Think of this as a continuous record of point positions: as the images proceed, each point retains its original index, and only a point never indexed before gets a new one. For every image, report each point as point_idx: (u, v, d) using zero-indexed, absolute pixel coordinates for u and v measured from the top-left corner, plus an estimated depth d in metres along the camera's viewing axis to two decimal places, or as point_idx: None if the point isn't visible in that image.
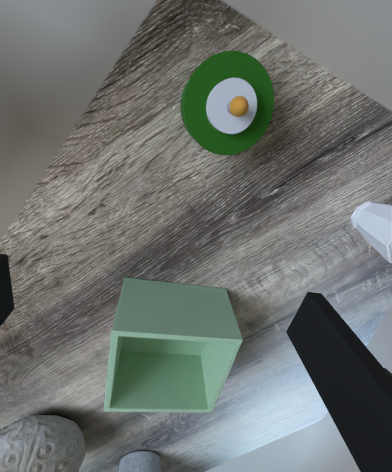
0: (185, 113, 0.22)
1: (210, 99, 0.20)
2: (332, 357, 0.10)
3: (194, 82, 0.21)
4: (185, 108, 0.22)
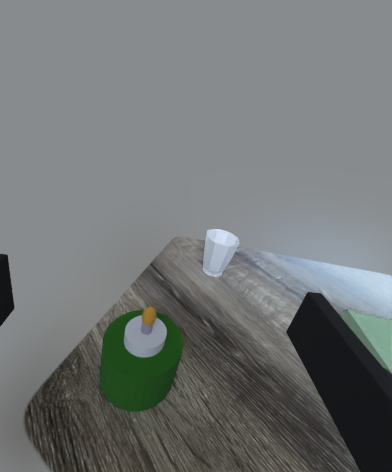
0: (148, 375, 0.22)
1: (139, 346, 0.23)
2: (332, 357, 0.10)
3: (122, 367, 0.22)
4: (143, 375, 0.22)
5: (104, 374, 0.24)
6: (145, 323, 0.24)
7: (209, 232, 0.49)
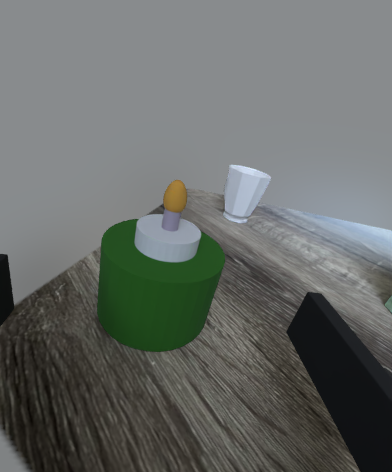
0: (178, 282, 0.13)
1: (162, 240, 0.14)
2: (332, 357, 0.10)
3: (134, 269, 0.13)
4: (171, 281, 0.13)
5: (104, 291, 0.15)
6: (170, 207, 0.15)
7: (232, 168, 0.40)
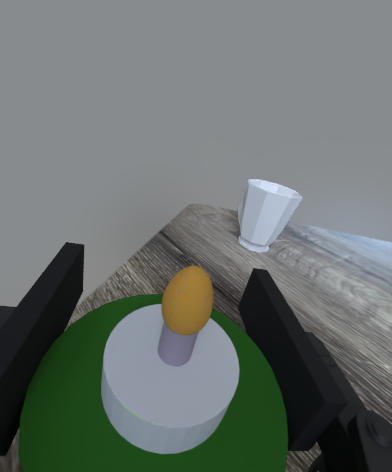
0: None
1: (157, 420, 0.06)
2: (265, 323, 0.10)
3: None
4: None
5: None
6: (177, 328, 0.06)
7: (250, 183, 0.31)
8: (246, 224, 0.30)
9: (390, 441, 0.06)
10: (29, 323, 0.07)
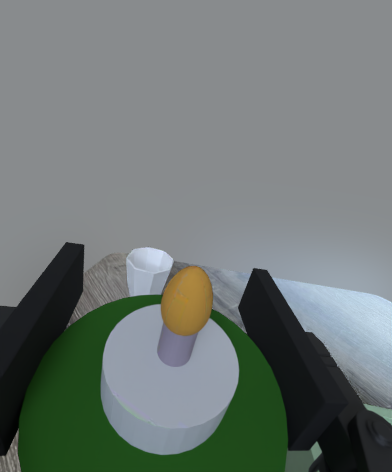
0: None
1: (156, 421, 0.06)
2: (265, 323, 0.10)
3: None
4: None
5: None
6: (176, 329, 0.06)
7: (136, 252, 0.37)
8: (129, 288, 0.36)
9: (390, 441, 0.06)
10: (29, 323, 0.07)
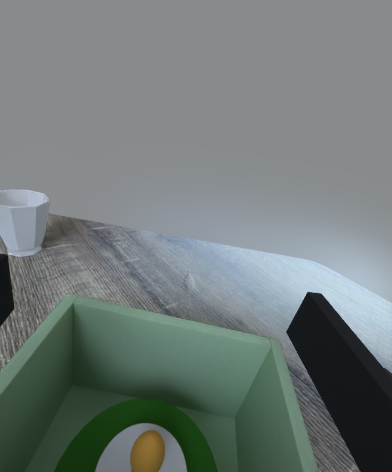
0: None
1: None
2: (332, 357, 0.10)
3: None
4: None
5: None
6: None
7: (10, 193, 0.34)
8: None
9: None
10: None
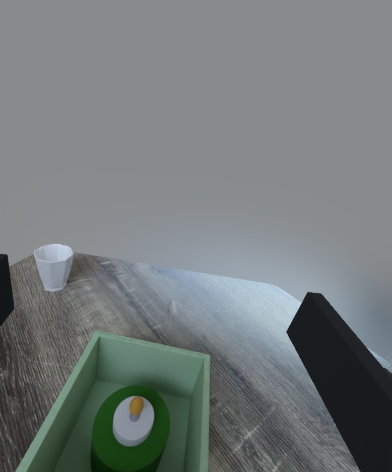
0: (134, 469, 0.23)
1: (127, 438, 0.24)
2: (332, 357, 0.10)
3: (110, 461, 0.24)
4: (130, 469, 0.23)
5: (94, 461, 0.25)
6: (132, 414, 0.25)
7: (46, 247, 0.49)
8: (39, 274, 0.48)
9: None
10: None
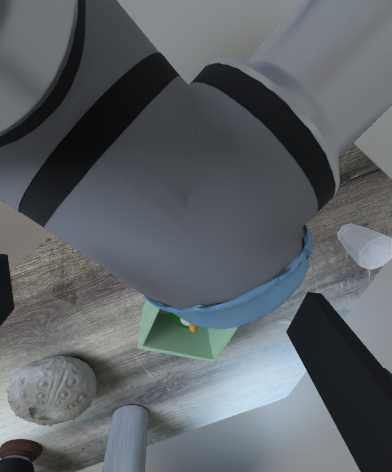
0: (169, 313, 0.45)
1: None
2: (332, 357, 0.10)
3: None
4: None
5: None
6: (189, 323, 0.43)
7: None
8: (359, 228, 0.45)
9: None
10: None
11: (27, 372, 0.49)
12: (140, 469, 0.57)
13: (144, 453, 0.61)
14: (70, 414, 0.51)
